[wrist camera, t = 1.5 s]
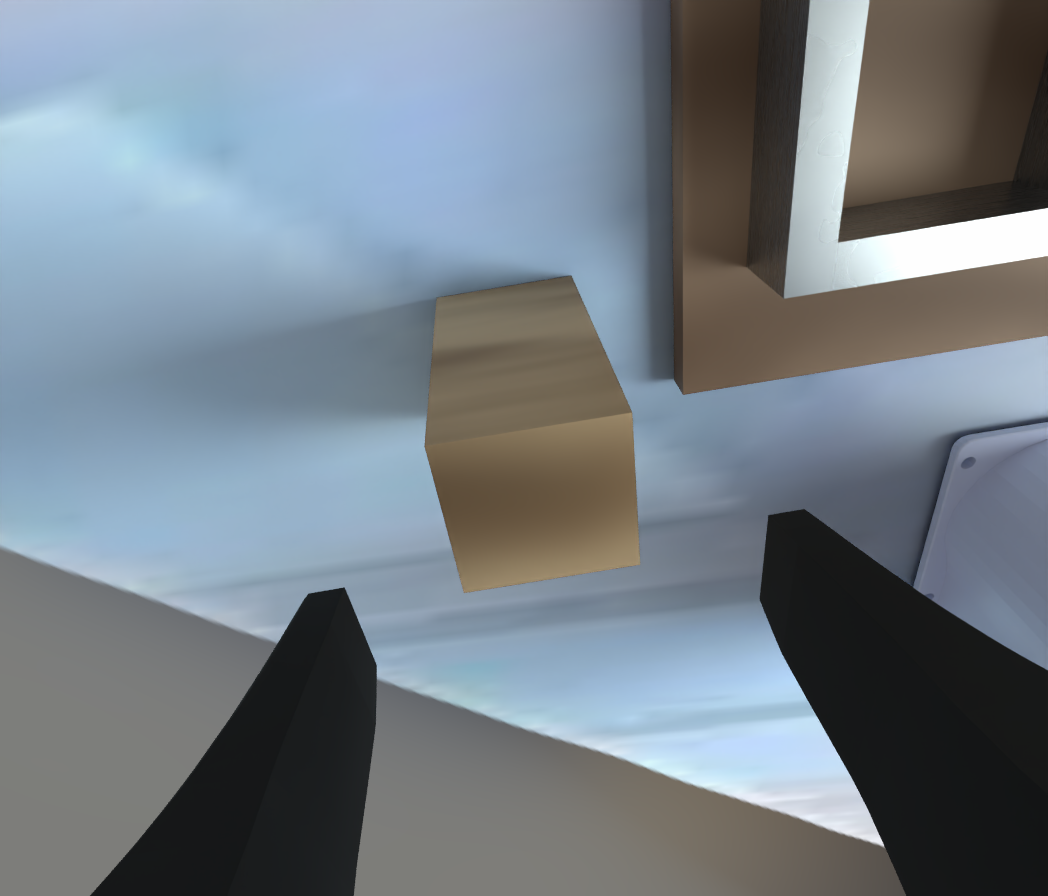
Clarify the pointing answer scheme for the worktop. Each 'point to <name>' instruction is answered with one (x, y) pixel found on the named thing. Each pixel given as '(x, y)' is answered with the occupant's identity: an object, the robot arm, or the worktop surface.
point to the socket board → (855, 182)
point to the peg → (529, 438)
